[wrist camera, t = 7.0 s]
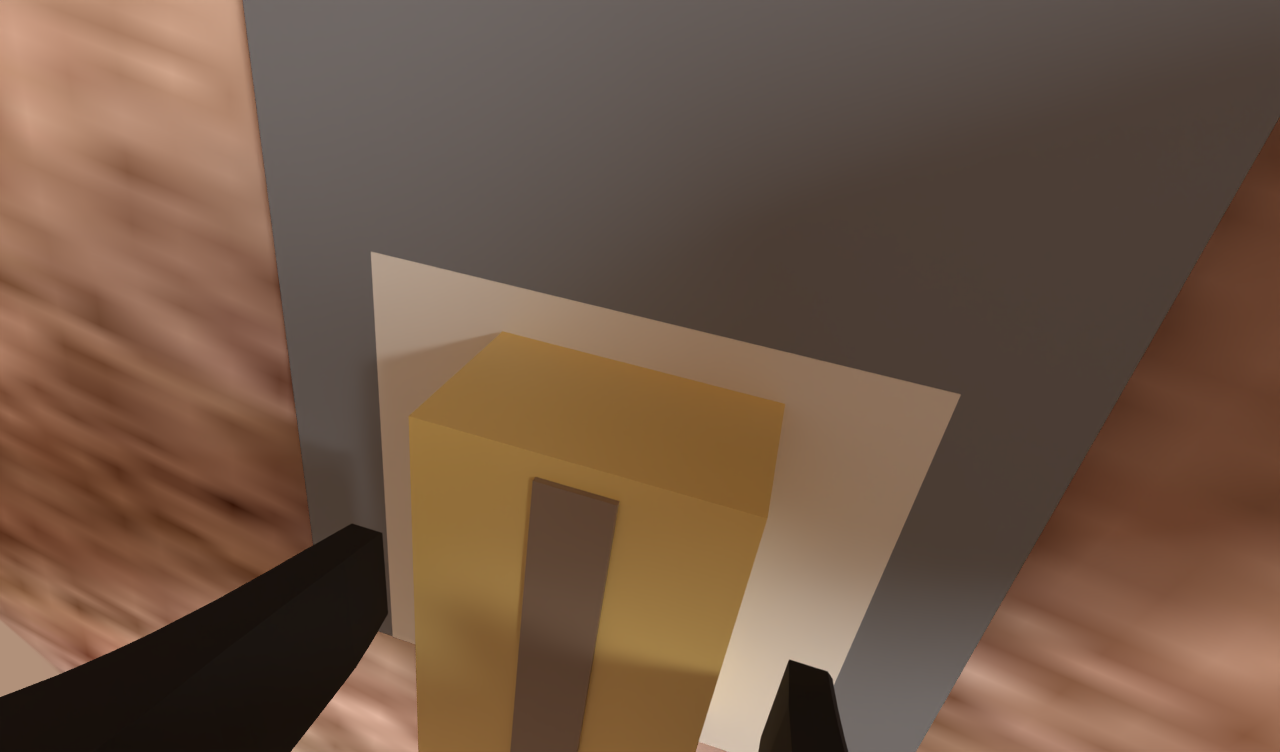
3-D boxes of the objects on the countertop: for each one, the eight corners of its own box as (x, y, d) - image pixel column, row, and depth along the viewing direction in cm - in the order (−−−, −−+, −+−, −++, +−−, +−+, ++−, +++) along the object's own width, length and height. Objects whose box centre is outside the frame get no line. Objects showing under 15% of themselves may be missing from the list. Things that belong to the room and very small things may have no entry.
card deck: (696, 707, 15) (664, 854, 12) (487, 638, 16) (415, 762, 13) (784, 404, 11) (767, 523, 8) (502, 330, 12) (404, 420, 9)
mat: (2081, -1388, 4) (2264, -1597, 4) (884, 778, 15) (885, 805, 15) (144, -1134, 6) (79, -1239, 6) (337, 594, 18) (321, 612, 17)
